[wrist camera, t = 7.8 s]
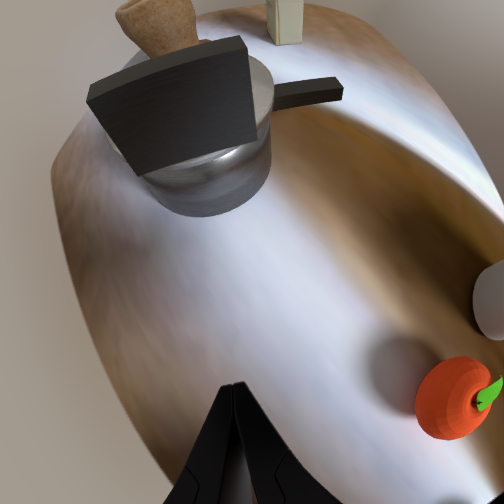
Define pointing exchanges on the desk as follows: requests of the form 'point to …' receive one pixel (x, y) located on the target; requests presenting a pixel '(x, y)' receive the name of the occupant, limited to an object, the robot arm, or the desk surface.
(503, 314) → the can
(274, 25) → the skincare box
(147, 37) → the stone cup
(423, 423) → the clementine
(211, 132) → the lid
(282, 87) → the pot
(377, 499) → the desk surface
